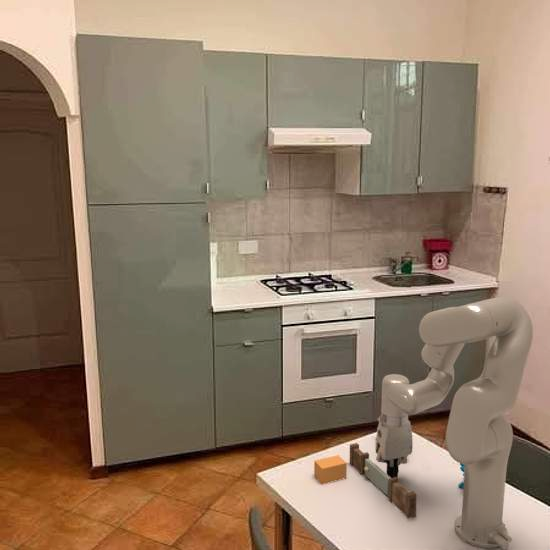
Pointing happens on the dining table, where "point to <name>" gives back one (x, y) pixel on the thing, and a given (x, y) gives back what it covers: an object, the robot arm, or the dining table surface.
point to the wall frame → (396, 491)
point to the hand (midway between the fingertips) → (392, 476)
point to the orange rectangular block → (330, 469)
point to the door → (377, 476)
